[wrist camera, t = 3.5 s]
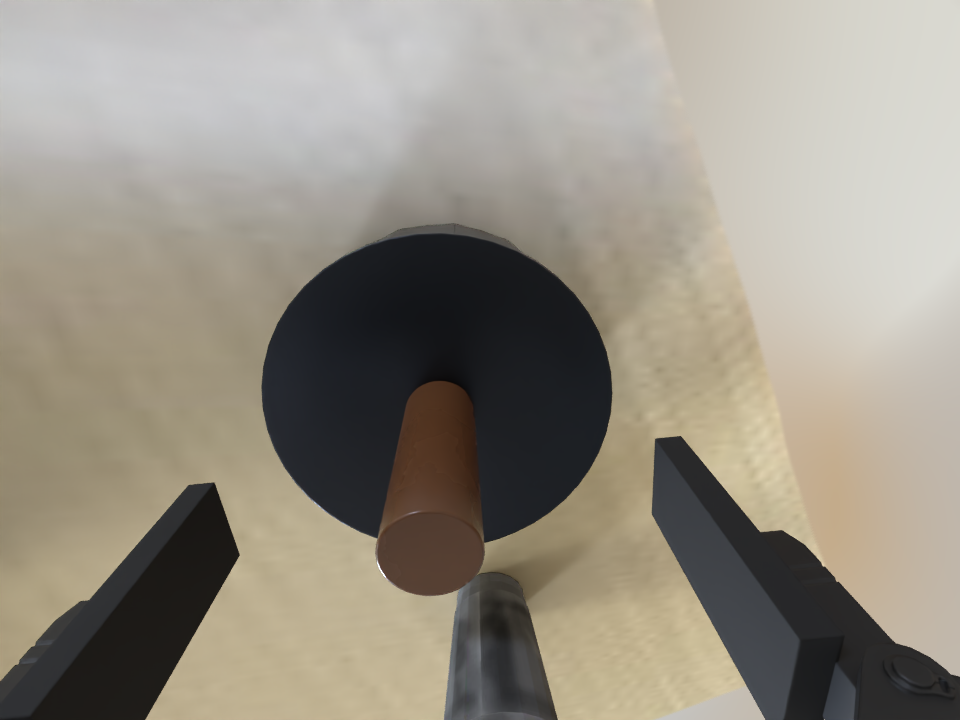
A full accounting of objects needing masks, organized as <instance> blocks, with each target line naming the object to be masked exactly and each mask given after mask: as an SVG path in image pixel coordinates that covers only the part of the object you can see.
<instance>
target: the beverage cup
mask: <svg viewBox="0 0 960 720" xmlns="http://www.w3.org/2000/svg"><path fill="white" fill-rule="evenodd" d="M444 720H558V719H557V715H556V711H555V708H554V704H553V700H552V696H551V692H550V689H549V685H548V681H547V677H546V673H545V670H544V666H543V662H542V658H541V654H540V651H539V647H538V643H537V639H536V635H535V632H534V628H533V624H532V620H531V617H530V613H529V609H528V606H527V605H526V602H525V598H524V596H523V591H522V588H521V586H520V585H519V584H518V582H517V581H515V580H514V579H513V578H511V577H510V576H507V575H504V574H501V573H485V574H479V575H477V576H475V577H474V578H473V579H472V580H471V581H470V582H469V583H468V584H466V585H465V586H463V587H462V588H461V589H460V590H459V592H458V598H457V608H456V611H455V617H454V626H453V636H452V645H451V655H450V665H449V675H448V684H447V694H446V704H445V714H444Z"/></svg>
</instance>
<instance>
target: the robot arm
mask: <svg viewBox="0 0 960 720" xmlns="http://www.w3.org/2000/svg"><path fill="white" fill-rule="evenodd" d="M652 515H653V517H654V519H655V521H656V523H657V524H658V526H659V528H660V530H661V532H662V533H663V535H664V537H665V539H666V541H667V542H668V544H669V546H670V548H671V550H672V552H673V553H674V555H675V557H676V559H677V561H678V562H679V564H680V566H681V568H682V570H683V571H684V573H685V575H686V577H687V579H688V580H689V582H690V584H691V586H692V588H693V589H694V591H695V593H696V595H697V597H698V599H699V600H700V602H701V604H702V606H703V608H704V609H705V611H706V613H707V615H708V617H709V618H710V620H711V622H712V624H713V626H714V627H715V629H716V631H717V633H718V635H719V636H720V638H721V640H722V642H723V644H724V646H725V647H726V649H727V651H728V653H729V655H730V656H731V658H732V660H733V662H734V664H735V665H736V667H737V669H738V671H739V673H740V674H741V676H742V678H743V680H744V682H745V683H746V685H747V687H748V689H749V691H750V693H751V694H752V696H753V698H754V700H755V701H756V703H757V705H758V707H759V709H760V711H761V712H762V714H763V716H764V718H765V720H824V719H825V720H960V677H958V676H954V675H951V674H950V673H949V672H948V671H947V670H946V669H944V668H943V667H942V666H941V665H939V664H938V663H937V662H935V661H934V660H933V659H931V658H930V657H928V656H926V655H924V654H922V653H920V652H919V651H917V650H914V649H913V648H910V647H907V646H903V645H900V644H896V643H895V642H894V641H892V639H891V638H890V637H889V636H888V635H887V634H886V633H885V632H884V631H883V630H882V629H881V627H880V626H879V625H878V624H877V623H876V622H875V621H874V620H873V619H872V618H871V617H870V615H869V614H868V613H867V612H866V611H865V610H864V609H863V608H862V607H861V606H860V604H858V602H857V601H856V600H855V599H854V598H853V597H852V596H851V595H850V594H849V593H848V591H847V590H846V589H845V588H844V587H843V586H842V585H841V584H840V583H839V582H836V580H835V577H834V576H833V575H832V574H831V573H830V572H829V571H828V570H827V568H826V567H823V566H822V563H821V562H820V561H819V560H818V559H817V558H816V556H815V555H814V554H813V553H812V552H811V551H810V550H809V549H808V548H807V547H806V546H805V545H804V544H803V543H801V542H800V541H798V540H797V539H795V538H793V537H792V536H790V535H789V534H787V533H786V532H784V531H782V530H779V531H769V532H760V531H759V530H758V529H757V528H756V527H755V525H754V524H753V523H752V522H751V520H750V519H749V518H748V517H747V516H746V514H745V513H744V512H743V511H742V510H741V508H740V507H739V506H738V505H737V504H736V502H735V501H734V500H733V499H732V497H731V496H730V495H729V494H728V493H727V491H726V490H725V489H724V488H723V487H722V485H721V484H720V483H719V482H718V480H717V479H716V478H715V477H714V476H713V474H712V473H711V472H710V471H709V470H708V468H707V467H706V466H705V465H704V463H703V462H702V461H701V460H700V459H699V457H698V456H697V455H696V454H695V453H694V451H693V450H692V449H691V448H690V446H689V445H688V444H687V443H686V442H685V440H684V439H683V438H682V437H681V436H677V437H667V438H657V439H655V455H654V477H653V499H652ZM239 556H240V554H239V551H238V549H237V546H236V543H235V540H234V537H233V534H232V531H231V529H230V526H229V523H228V520H227V517H226V514H225V511H224V508H223V506H222V503H221V500H220V497H219V494H218V491H217V488H216V485H215V483H204V484H194V485H188V486H187V488H186V489H185V490H184V491H183V492H182V493H181V495H180V496H179V497H178V498H177V499H176V500H175V502H174V503H173V504H172V505H171V506H170V507H169V508H168V510H167V511H166V512H165V513H164V514H163V515H162V517H161V518H160V519H159V520H158V521H157V522H156V524H155V525H154V526H153V527H152V528H151V529H150V530H149V532H148V533H147V534H146V535H145V536H144V537H143V539H142V540H141V541H140V542H139V543H138V544H137V545H136V547H135V548H134V549H133V550H132V551H131V552H130V554H129V555H128V556H127V557H126V558H125V559H124V561H123V562H122V563H121V564H120V565H119V566H118V567H117V569H116V570H115V571H114V572H113V573H112V574H111V576H110V577H109V578H108V579H107V580H106V581H105V583H104V584H103V585H102V586H101V587H100V588H99V589H98V591H97V592H96V593H95V594H94V595H93V596H92V598H91V599H90V600H88V601H80V602H79V603H78V604H76V605H75V606H74V607H72V608H71V609H70V610H68V611H67V612H66V613H65V614H63V615H62V616H61V617H59V618H58V619H57V620H55V621H54V623H53V624H52V625H51V626H50V627H49V628H48V629H47V630H46V631H45V633H44V634H43V635H42V636H41V637H40V638H39V639H38V640H37V641H36V645H35V646H34V647H31V648H30V649H29V650H28V651H27V653H26V654H25V655H24V656H23V657H22V658H21V659H20V660H19V661H20V662H19V664H18V665H15V666H14V667H13V668H12V669H11V670H10V671H9V673H8V674H7V675H6V676H5V677H4V678H3V679H2V680H1V681H0V720H145V719H146V717H147V716H148V714H149V712H150V710H151V709H152V707H153V705H154V703H155V702H156V700H157V698H158V696H159V695H160V693H161V691H162V690H163V688H164V686H165V684H166V683H167V681H168V679H169V677H170V676H171V674H172V672H173V670H174V669H175V667H176V665H177V663H178V662H179V660H180V658H181V656H182V655H183V653H184V651H185V650H186V648H187V646H188V644H189V643H190V641H191V639H192V637H193V636H194V634H195V632H196V630H197V629H198V627H199V625H200V623H201V622H202V620H203V618H204V616H205V615H206V613H207V611H208V609H209V608H210V606H211V604H212V603H213V601H214V599H215V597H216V596H217V594H218V592H219V590H220V589H221V587H222V585H223V583H224V582H225V580H226V578H227V576H228V575H229V573H230V571H231V569H232V568H233V566H234V564H235V562H236V561H237V559H238V557H239Z"/></svg>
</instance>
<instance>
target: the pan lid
mask: <svg viewBox="0 0 960 720" xmlns="http://www.w3.org/2000/svg"><path fill="white" fill-rule="evenodd" d="M262 403H263V412H264V416H265V421H266V426H267V430H268V433H269V435H270V438H271V441H272V444H273V446H274V449H275V451H276V453H277V455H278V456H279V458H280V460H281V462H282V464H283V466H284V467H285V469H286V470H287V472H288V473H289V474H290V476H291V477H292V479H293V480H294V482H295V483H296V484H297V485H298V486H299V487H300V488H301V489H302V491H303V492H304V493H305V494H306V495H307V496H308V497H309V498H310V499H311V500H312V501H313V502H315V503H316V504H317V505H318V506H319V507H321V508H322V509H323V510H324V511H325V512H327V513H328V514H330V515H331V516H333V517H334V518H336V519H337V520H339V521H340V522H342V523H344V524H346V525H348V526H350V527H351V528H353V529H355V530H357V531H359V532H362V533H364V534H367V535H369V536H372V537H375V538H377V544H376V552H375V554H376V560H377V564H378V566H379V568H380V570H381V572H382V574H383V575H384V576H385V578H386V579H387V580H388V581H389V582H391V583H392V584H393V585H395V586H396V587H398V588H400V589H402V590H404V591H406V592H409V593H412V594H416V595H423V596H436V595H443V594H447V593H451V592H453V591H456V590H458V589H460V588H462V587H463V586H465V585H466V584H468V583H469V582H470V581H471V580H472V579H473V578H474V577H475V576H476V575H477V573H478V572H479V570H480V568H481V566H482V564H483V560H484V555H485V548H484V543H485V542H489V541H493V540H497V539H500V538H502V537H505V536H507V535H510V534H512V533H515V532H517V531H519V530H521V529H523V528H525V527H527V526H529V525H531V524H533V523H535V522H536V521H538V520H539V519H541V518H542V517H544V516H545V515H547V514H548V513H550V512H551V511H552V510H553V509H554V508H556V507H557V506H558V505H559V504H560V503H561V502H563V501H564V500H565V499H566V498H567V497H568V496H569V495H570V494H571V493H572V491H573V490H574V489H575V488H576V487H577V486H578V485H579V484H580V482H581V481H582V479H583V478H584V477H585V475H586V474H587V472H588V471H589V470H590V468H591V466H592V464H593V462H594V461H595V459H596V457H597V455H598V453H599V451H600V448H601V446H602V443H603V440H604V438H605V435H606V432H607V427H608V423H609V419H610V414H611V403H612V381H611V370H610V366H609V361H608V356H607V352H606V349H605V346H604V344H603V341H602V338H601V336H600V333H599V331H598V329H597V327H596V325H595V323H594V322H593V320H592V318H591V316H590V314H589V312H588V311H587V310H586V308H585V307H584V306H583V304H582V303H581V302H580V300H579V299H578V298H577V296H576V295H575V294H574V293H573V292H572V291H571V290H570V289H569V288H568V287H567V286H566V285H565V284H564V283H563V282H562V281H561V280H560V279H559V278H558V277H557V276H556V275H555V274H554V273H552V272H551V271H550V270H548V269H547V268H546V267H544V266H543V265H542V264H540V263H539V262H538V261H536V260H534V259H532V258H531V257H529V256H527V255H525V254H523V253H521V252H520V251H518V250H516V249H514V248H511V247H509V246H506V245H503V244H501V243H498V242H496V241H493V240H489V239H485V238H481V237H477V236H473V235H468V234H460V233H450V232H419V233H411V234H405V235H399V236H394V237H389V238H386V239H383V240H380V241H377V242H373V243H370V244H367V245H365V246H363V247H361V248H359V249H357V250H355V251H352V252H350V253H348V254H346V255H344V256H343V257H341V258H340V259H338V260H337V261H335V262H334V263H332V264H331V265H329V266H328V267H326V268H325V269H323V270H322V271H321V272H320V273H319V274H318V275H316V276H315V277H314V278H313V279H312V280H311V281H310V282H309V283H307V284H306V285H305V286H304V287H303V288H302V290H301V291H300V292H299V293H298V294H297V296H296V297H295V298H294V299H293V300H292V302H291V303H290V304H289V305H288V307H287V309H286V310H285V312H284V314H283V315H282V317H281V319H280V320H279V322H278V324H277V326H276V328H275V331H274V333H273V335H272V338H271V340H270V343H269V345H268V349H267V353H266V358H265V362H264V366H263V376H262Z"/></svg>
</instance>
